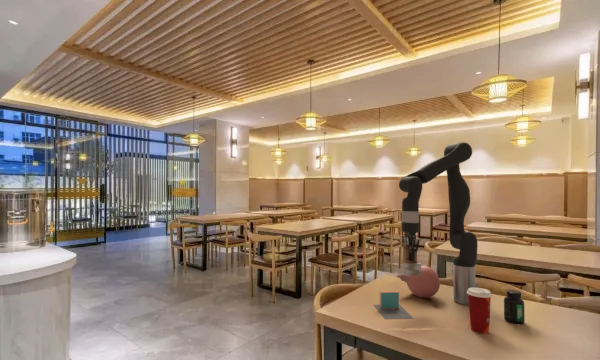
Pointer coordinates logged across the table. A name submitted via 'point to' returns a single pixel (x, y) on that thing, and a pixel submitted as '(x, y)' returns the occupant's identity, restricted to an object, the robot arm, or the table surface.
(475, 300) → the coffee cup
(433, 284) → the pink rounded piece
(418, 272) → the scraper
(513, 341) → the table surface
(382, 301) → the tile
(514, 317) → the supplement bottle
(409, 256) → the robot arm
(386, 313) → the mat
